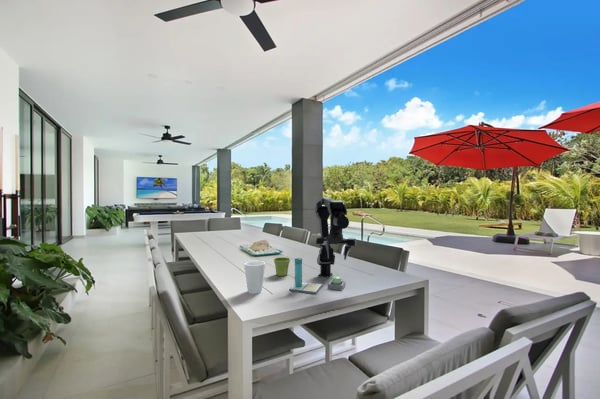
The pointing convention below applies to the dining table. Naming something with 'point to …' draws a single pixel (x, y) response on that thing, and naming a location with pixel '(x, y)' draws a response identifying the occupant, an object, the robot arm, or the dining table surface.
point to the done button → (336, 280)
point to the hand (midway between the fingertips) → (336, 259)
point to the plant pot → (281, 265)
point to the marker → (298, 272)
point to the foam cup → (254, 276)
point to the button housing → (336, 285)
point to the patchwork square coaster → (307, 288)
